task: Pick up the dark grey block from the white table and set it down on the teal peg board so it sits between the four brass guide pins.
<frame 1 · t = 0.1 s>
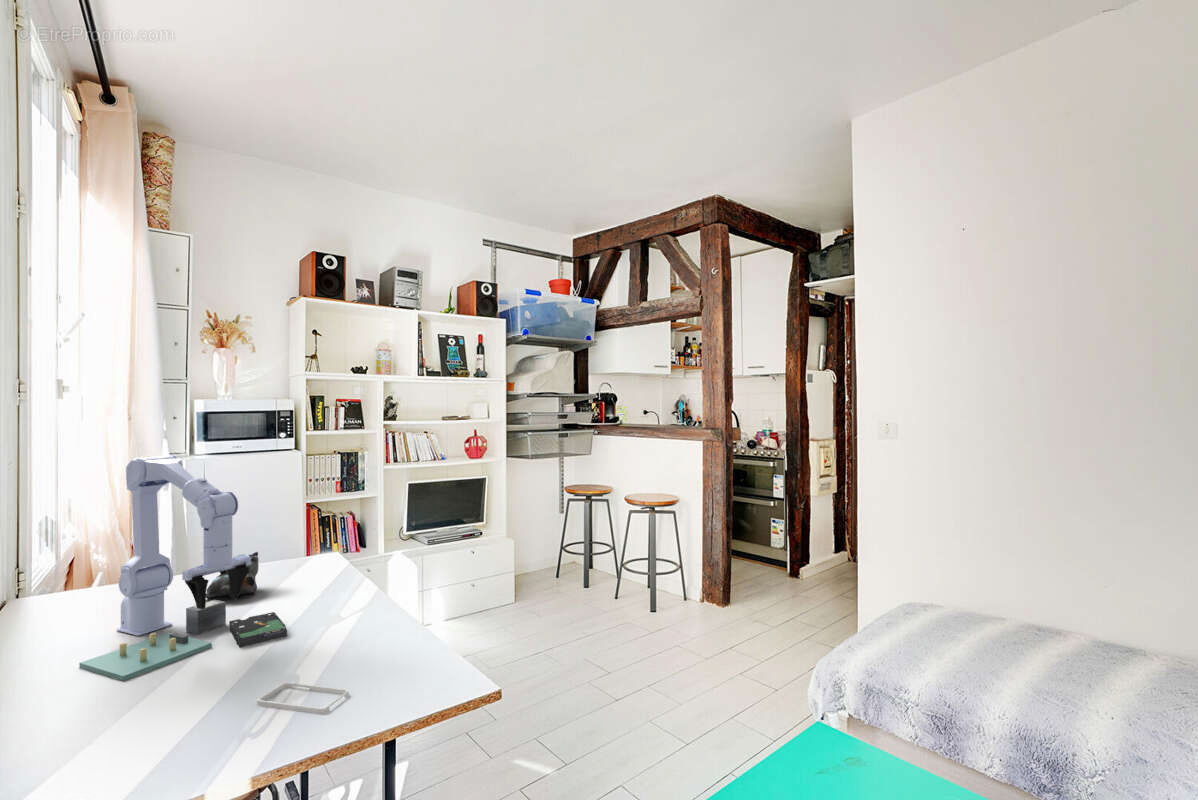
hand: (218, 602, 136), 10 cm above the table, tool pointing down, fingers open, 7 cm apart
teal peg board: (148, 656, 130), on the table
disk drive: (257, 635, 144), on the table
dark grey block: (206, 628, 147), on the table
grey lumpy piece: (232, 596, 173), on the table
phone case: (303, 703, 111), on the table
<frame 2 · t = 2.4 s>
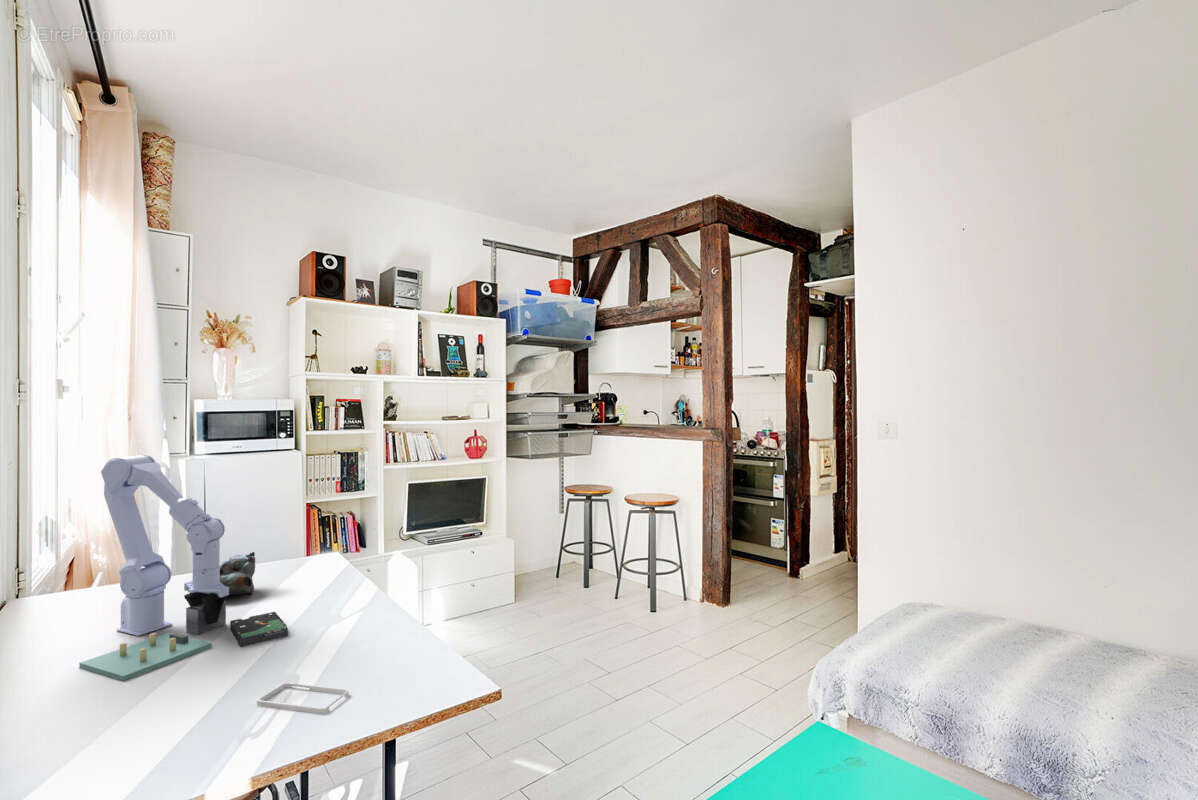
hand: (206, 621, 147), 2 cm above the table, tool pointing down, fingers closed on dark grey block, 4 cm apart
dark grey block: (206, 628, 147), on the table, touching gripper
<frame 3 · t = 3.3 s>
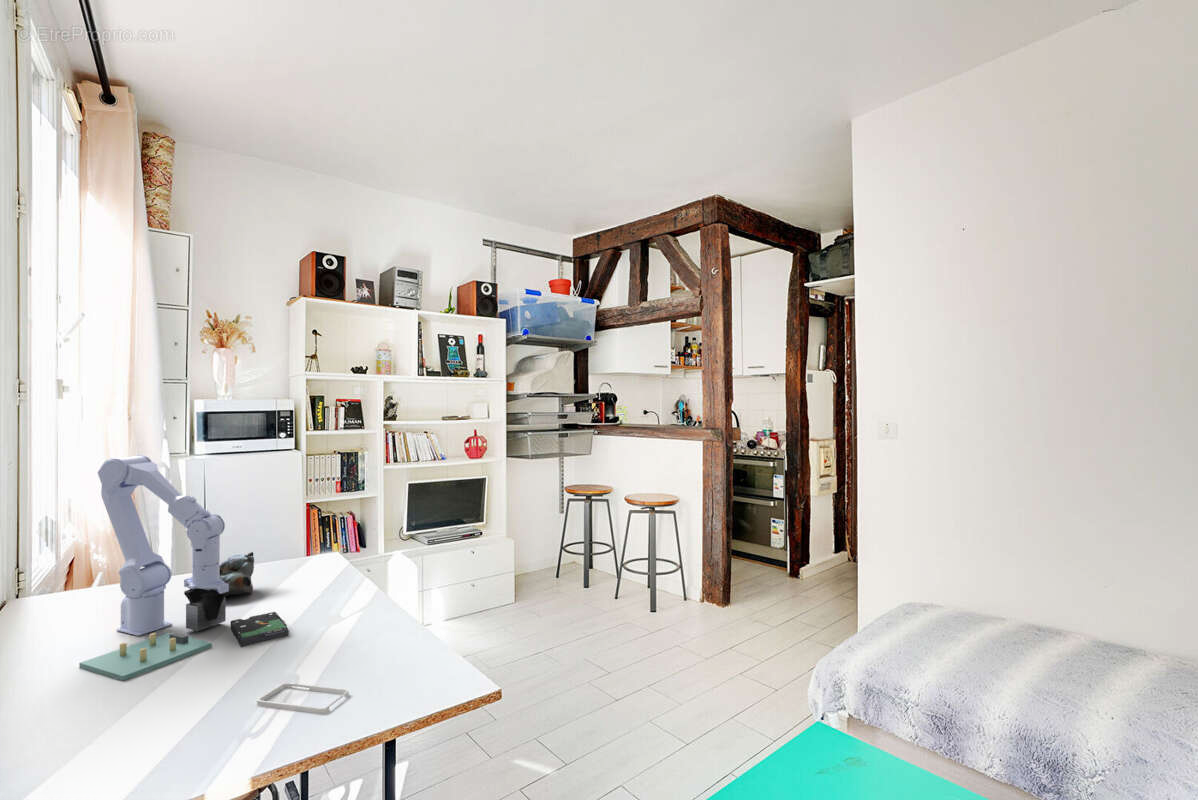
hand: (206, 617, 147), 3 cm above the table, tool pointing down, fingers closed on dark grey block, 4 cm apart
dark grey block: (206, 624, 147), point 1 cm above the table, touching gripper
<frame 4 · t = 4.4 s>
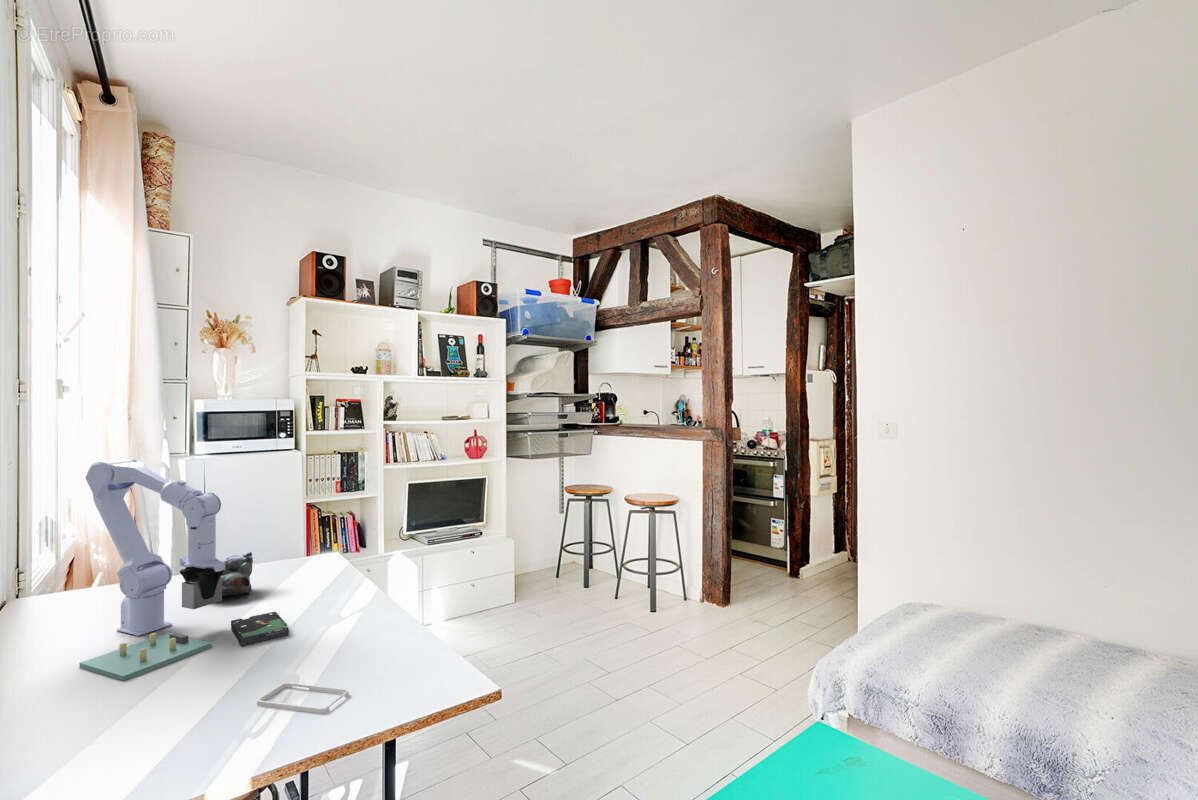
hand: (202, 596, 146), 8 cm above the table, tool pointing down, fingers closed on dark grey block, 4 cm apart
dark grey block: (202, 603, 146), point 7 cm above the table, touching gripper
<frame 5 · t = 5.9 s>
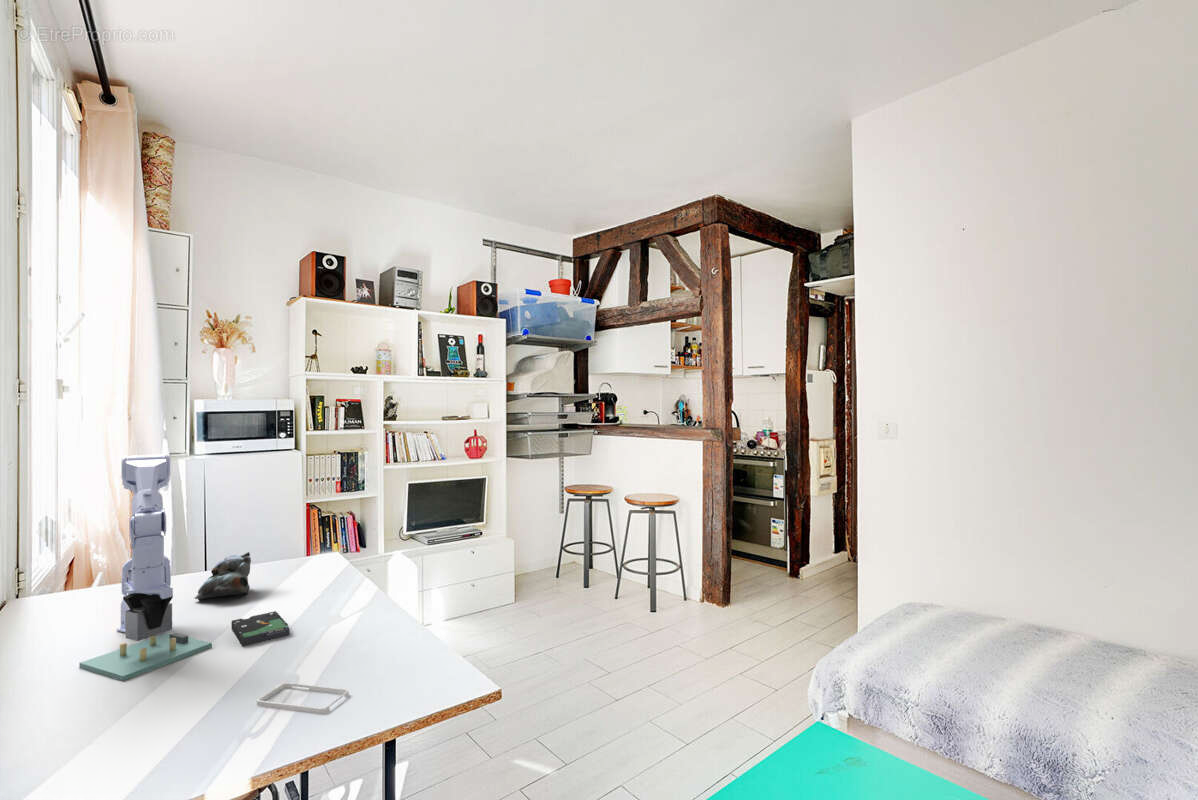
hand: (148, 626, 130), 7 cm above the table, tool pointing down, fingers closed on dark grey block, 4 cm apart
dark grey block: (149, 633, 131), point 5 cm above the table, touching gripper
when the fingers open (4 cm above the table, at t = 6.8 s): dark grey block drops 1 cm, resting on teal peg board.
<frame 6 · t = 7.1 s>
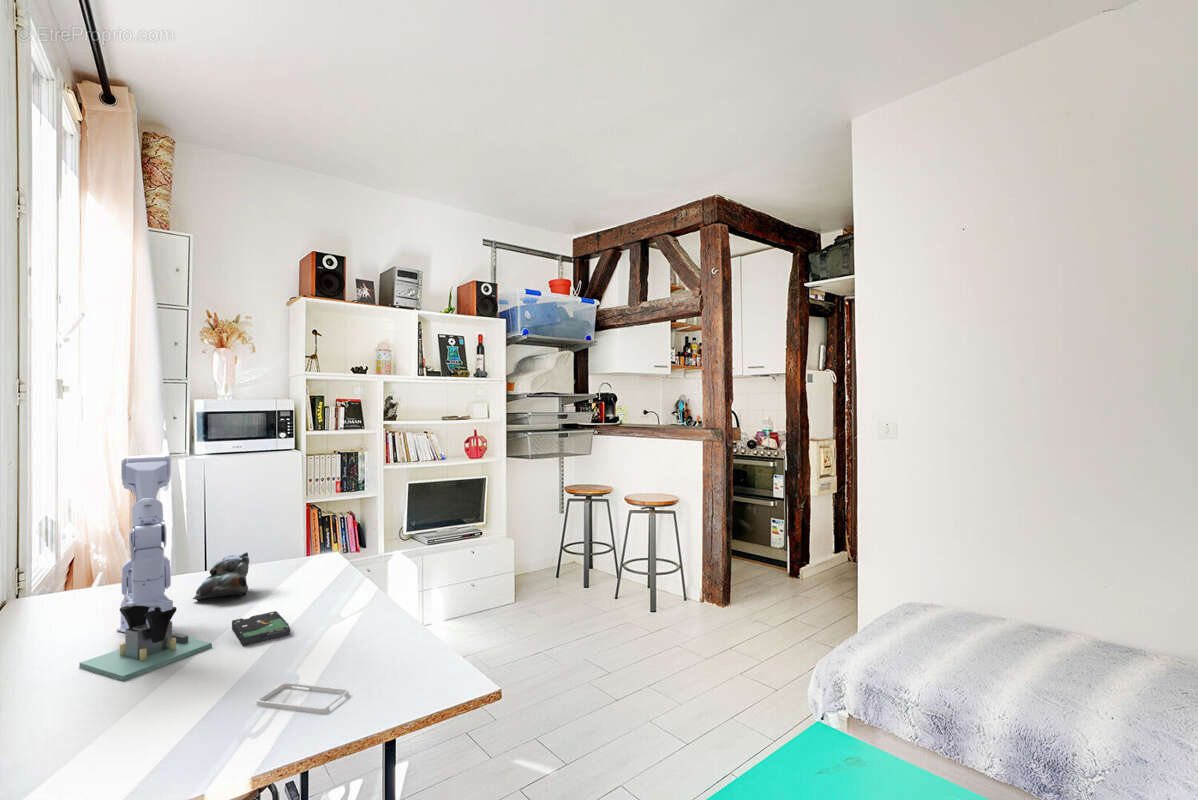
hand: (148, 638, 130), 4 cm above the table, tool pointing down, fingers open, 7 cm apart
dark grey block: (149, 652, 131), point 1 cm above the table, touching teal peg board
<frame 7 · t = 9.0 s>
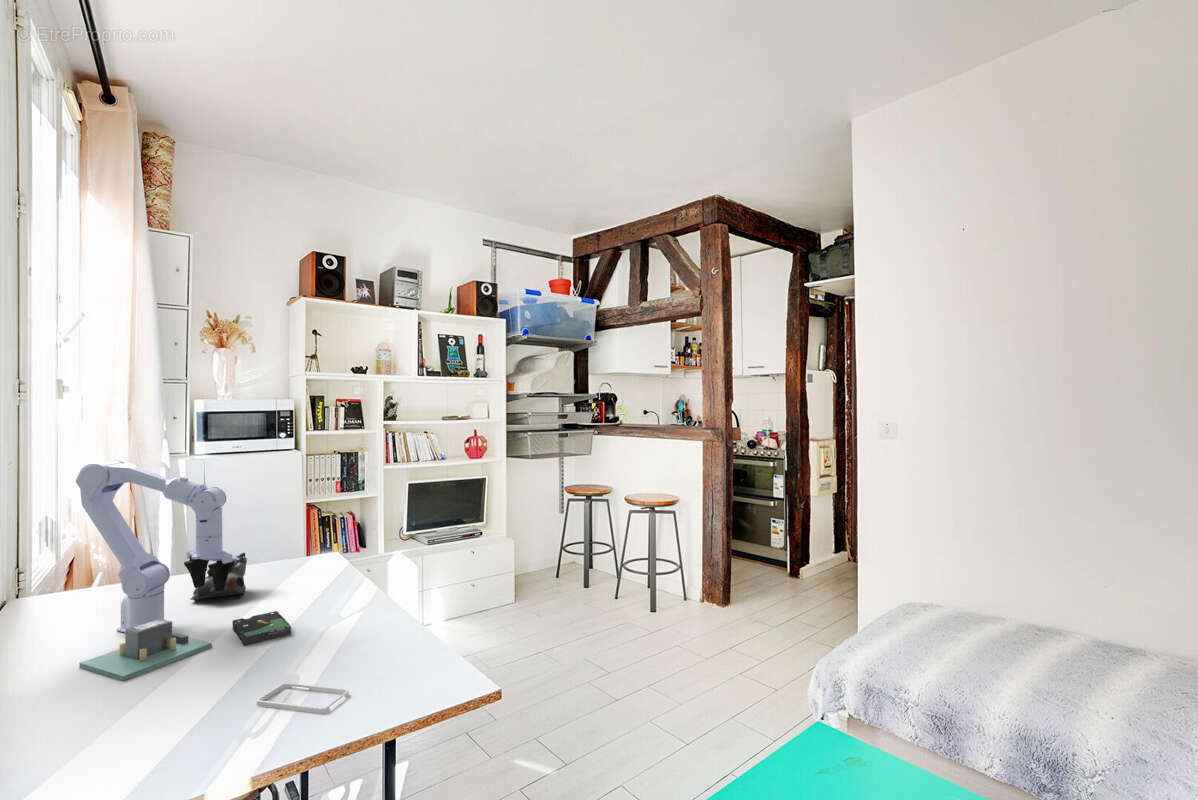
hand: (209, 588, 149), 9 cm above the table, tool pointing down, fingers open, 7 cm apart
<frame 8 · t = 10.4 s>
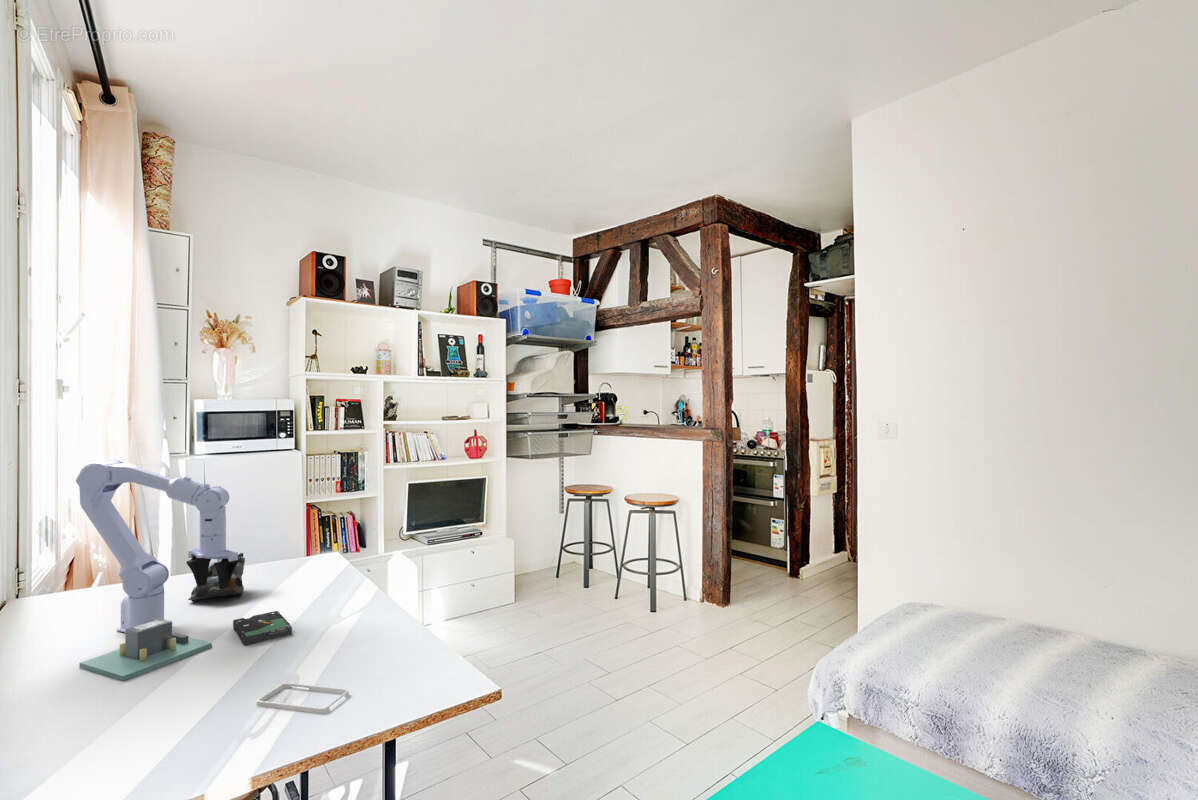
hand: (213, 586, 151), 9 cm above the table, tool pointing down, fingers open, 7 cm apart
at the end: dark grey block 0.2 cm off-centre on the teal peg board, point 1.0 cm above the teal peg board's base; dark grey block tilted 0°; the gripper is holding nothing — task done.
